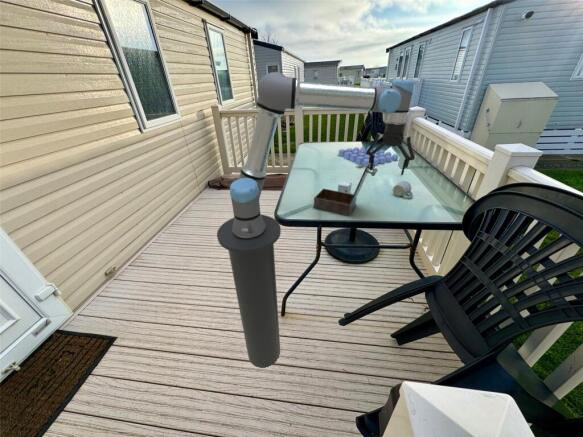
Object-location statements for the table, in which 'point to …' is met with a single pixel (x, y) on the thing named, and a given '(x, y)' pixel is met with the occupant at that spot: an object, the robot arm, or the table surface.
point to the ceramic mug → (403, 189)
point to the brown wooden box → (334, 202)
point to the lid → (363, 181)
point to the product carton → (344, 187)
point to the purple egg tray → (366, 156)
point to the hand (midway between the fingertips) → (386, 172)
